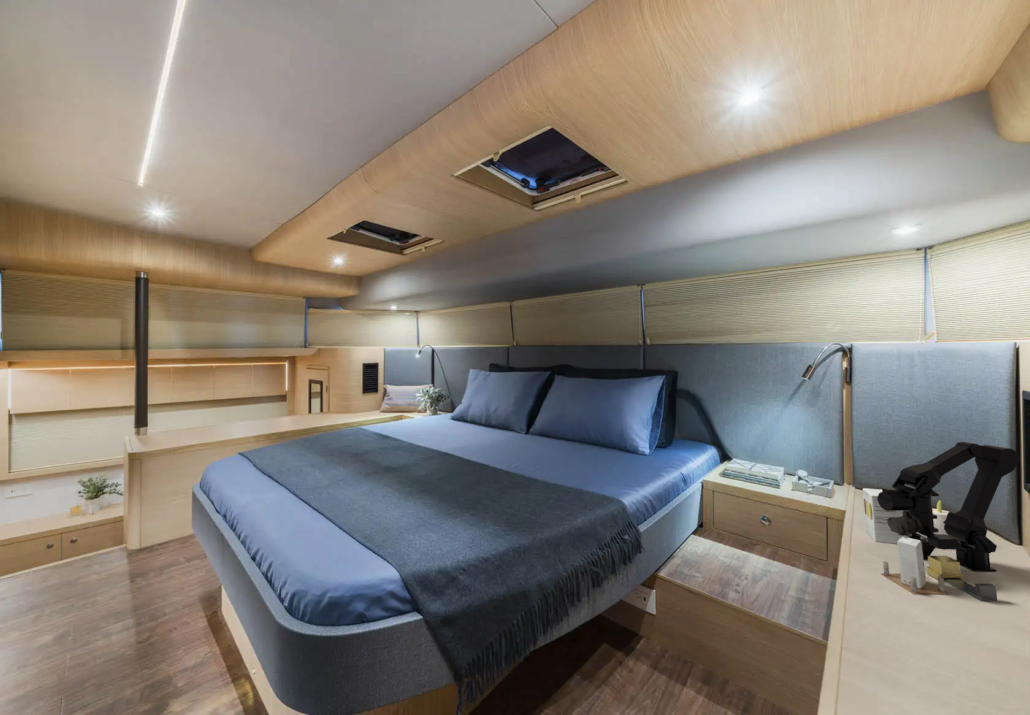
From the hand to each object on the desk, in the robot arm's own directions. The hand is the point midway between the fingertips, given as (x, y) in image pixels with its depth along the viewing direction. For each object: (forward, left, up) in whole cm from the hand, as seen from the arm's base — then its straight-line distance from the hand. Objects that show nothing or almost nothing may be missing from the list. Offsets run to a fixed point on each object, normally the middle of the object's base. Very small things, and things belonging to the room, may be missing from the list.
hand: (924, 559), depth 124 cm
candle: (-21, -18, -2) cm, 28 cm away
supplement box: (-5, -21, -3) cm, 22 cm away
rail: (0, +11, -2) cm, 11 cm away
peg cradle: (+12, +10, -2) cm, 15 cm away
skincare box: (+11, +10, -2) cm, 15 cm away
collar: (0, +6, -2) cm, 7 cm away
